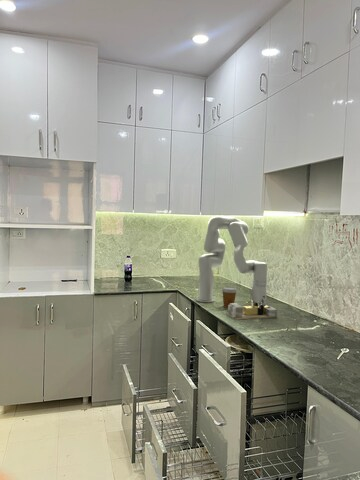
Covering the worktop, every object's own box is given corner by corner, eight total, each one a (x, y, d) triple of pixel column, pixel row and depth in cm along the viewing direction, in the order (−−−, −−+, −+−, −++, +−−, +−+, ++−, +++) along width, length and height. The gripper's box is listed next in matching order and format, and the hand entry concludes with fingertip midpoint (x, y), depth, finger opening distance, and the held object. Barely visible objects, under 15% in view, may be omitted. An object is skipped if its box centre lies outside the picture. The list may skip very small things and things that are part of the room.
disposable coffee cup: (238, 306, 236) (239, 288, 235) (232, 309, 228) (233, 290, 227) (224, 304, 241) (225, 286, 240) (218, 307, 233) (219, 288, 232)
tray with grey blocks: (225, 313, 218) (225, 302, 218) (263, 311, 227) (264, 300, 226) (236, 319, 205) (236, 308, 205) (276, 317, 214) (277, 305, 213)
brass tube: (242, 313, 217) (243, 306, 216) (264, 311, 221) (264, 305, 221) (246, 315, 212) (246, 308, 212) (268, 313, 217) (268, 307, 217)
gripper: (247, 280, 223) (245, 310, 224) (261, 286, 207) (260, 317, 208) (257, 280, 226) (256, 309, 227) (273, 285, 210) (271, 317, 211)
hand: (258, 313), depth 218 cm, fingers closed on brass tube, 4 cm apart
